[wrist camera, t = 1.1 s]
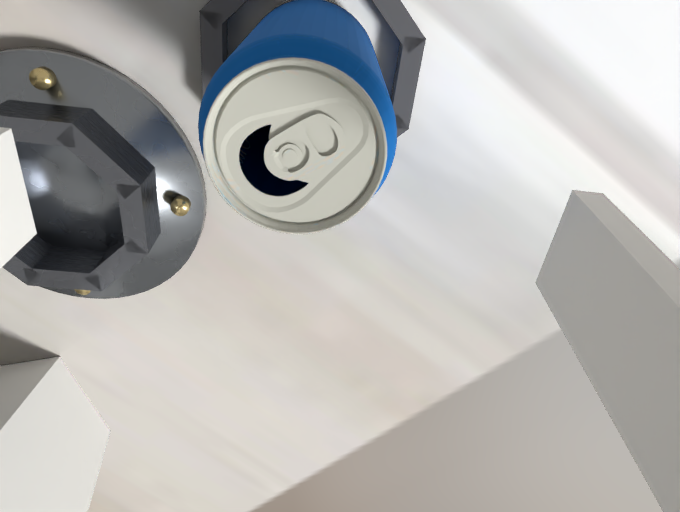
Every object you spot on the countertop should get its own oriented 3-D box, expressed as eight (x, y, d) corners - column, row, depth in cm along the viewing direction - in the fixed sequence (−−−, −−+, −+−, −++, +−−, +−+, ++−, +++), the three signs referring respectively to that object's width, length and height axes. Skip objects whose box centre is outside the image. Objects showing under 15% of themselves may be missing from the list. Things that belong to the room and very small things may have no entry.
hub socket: (-26, 280, 32) (-59, 311, 30) (-111, 29, 24) (-167, 40, 22) (209, 300, 33) (198, 332, 31) (202, 65, 25) (186, 81, 23)
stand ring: (209, 155, 28) (204, 163, 27) (202, -69, 22) (196, -70, 21) (396, 175, 28) (398, 183, 27) (436, -38, 23) (440, -37, 22)
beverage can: (221, 41, 25) (142, 114, 15) (336, -32, 23) (336, -7, 13) (291, 151, 28) (265, 274, 18) (396, 93, 26) (435, 192, 16)
